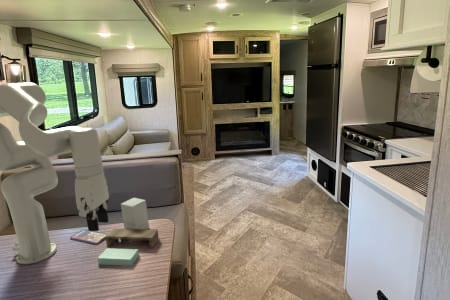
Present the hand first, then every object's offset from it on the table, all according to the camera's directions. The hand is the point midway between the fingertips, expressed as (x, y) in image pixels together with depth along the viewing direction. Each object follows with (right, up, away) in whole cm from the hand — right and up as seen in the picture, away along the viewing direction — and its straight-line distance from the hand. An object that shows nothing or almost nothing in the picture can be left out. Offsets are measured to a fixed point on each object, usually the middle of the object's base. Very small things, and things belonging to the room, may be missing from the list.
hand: (98, 225), depth 91 cm
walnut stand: (+4, -12, +22) cm, 26 cm away
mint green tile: (+2, -15, +12) cm, 19 cm away
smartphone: (-16, -13, +28) cm, 35 cm away
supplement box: (+2, -10, +32) cm, 34 cm away
